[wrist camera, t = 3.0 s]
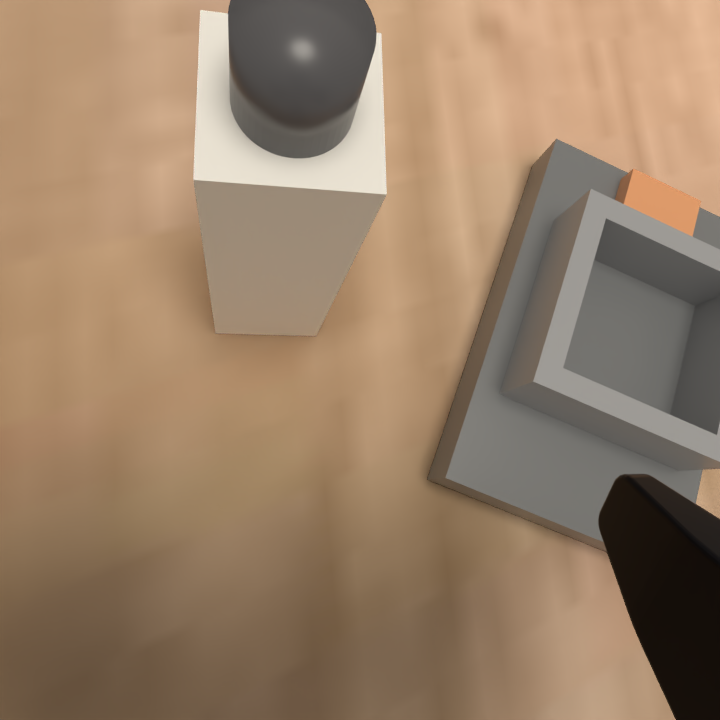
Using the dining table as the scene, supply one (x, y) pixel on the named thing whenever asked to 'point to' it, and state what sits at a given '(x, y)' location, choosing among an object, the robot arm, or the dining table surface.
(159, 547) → the dining table surface
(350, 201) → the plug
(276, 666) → the dining table surface
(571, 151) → the grey socket base
